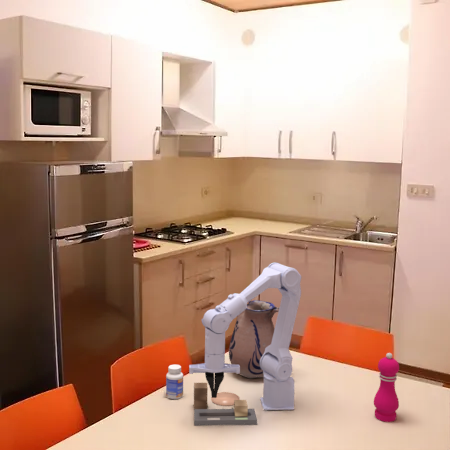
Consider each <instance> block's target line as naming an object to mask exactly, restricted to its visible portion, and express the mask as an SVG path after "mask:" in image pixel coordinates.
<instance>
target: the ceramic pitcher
mask: <svg viewBox="0 0 450 450" xmlns="http://www.w3.org/2000/svg"><path fill="white" fill-rule="evenodd" d="M279 308H280V307H278V306H277V307H276V306H275V304H274V303H272V302H270V301H265V300H258V299H256V300H255V299H254V300H251V301H249V302H248V303H247V308H246V309H245V310H244V311H243V312H242V313H240V314H239V315H238V316H237V317H236V321H235V325H234V327H233V330H232V331H233V332H232V335H231V338H230V343H229V348H228V357H229V358H228V359H229V362H230V364H235V365H240V373H238V374H239V375H241V376H243V377H245V378H248V379H255V378H264V374H263V370H262V369H261V367H260V359H261V357H262V356H263V354H264V352H265V348H266V347H268V346H269V345H271V342H272V338H273V334H274V329H275V325H274V322H273V318H274V317H273V316H274V315H275V314H277V313H278V312H279Z"/></svg>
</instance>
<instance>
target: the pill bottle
mask: <svg viewBox="0 0 450 450" xmlns="http://www.w3.org/2000/svg"><path fill="white" fill-rule="evenodd" d="M165 377H166V378H165V379H166V380H165V381H166V382H165V387H166V392H165V393H166V398H168V399H170V400H179V399H181V398H183V396H184V373H183V372H182V366H181V365H180V364H170V365H169V366H168V372H167V373H166V375H165Z"/></svg>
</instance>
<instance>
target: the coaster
mask: <svg viewBox="0 0 450 450" xmlns="http://www.w3.org/2000/svg"><path fill="white" fill-rule="evenodd" d="M210 398H211V399H210V400H211V402H212V404H215V405H217V406H220V407H221V406H223V407H230V406H234V400H241V399H240V396H239V395H238V394H236V393H233V392H229V391H221V392H217V398H212V396H211V397H210Z"/></svg>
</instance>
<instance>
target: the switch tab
mask: <svg viewBox="0 0 450 450" xmlns="http://www.w3.org/2000/svg"><path fill="white" fill-rule="evenodd" d="M248 407H249V406H248V401H247V399H240V400H234V405H233V409H234V413H235V417H239V416H247V415H248V409H249V408H248Z"/></svg>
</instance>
